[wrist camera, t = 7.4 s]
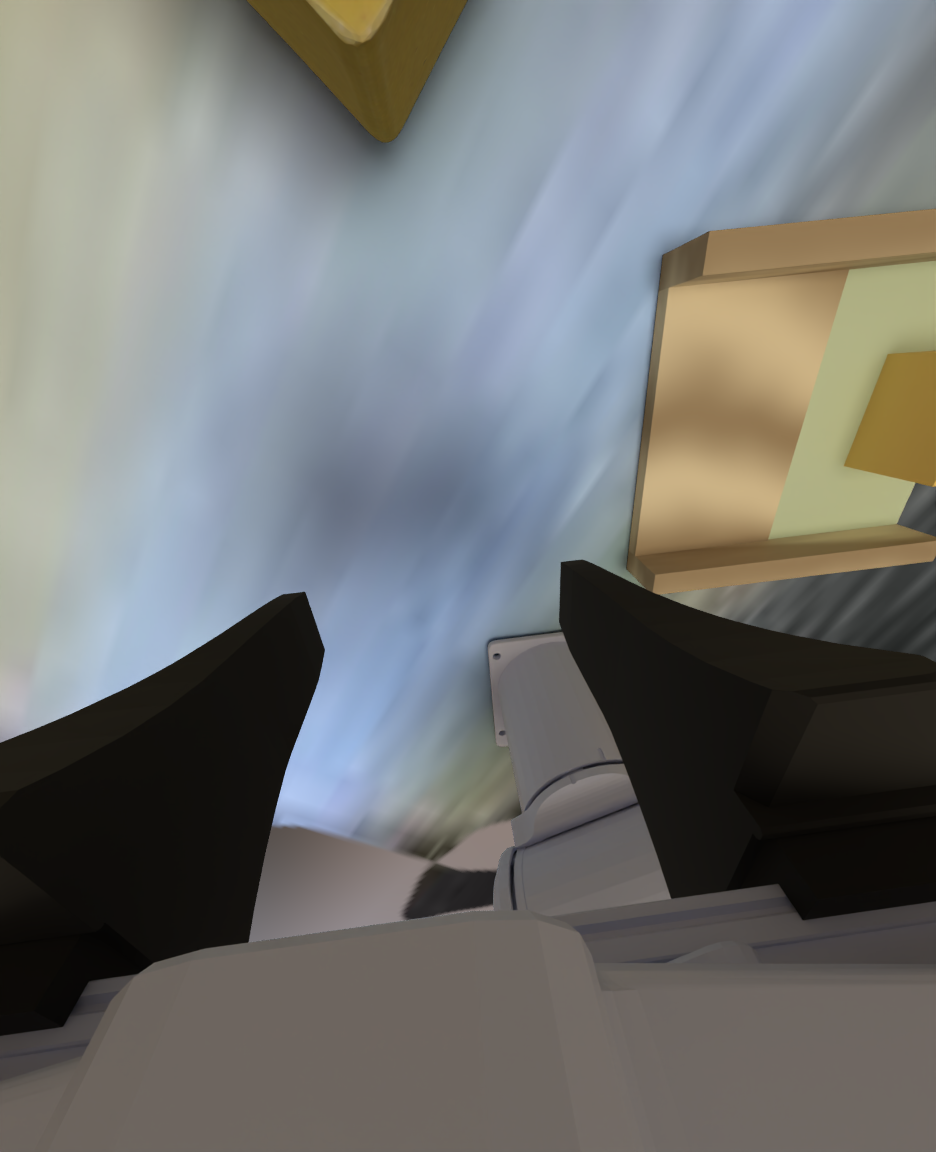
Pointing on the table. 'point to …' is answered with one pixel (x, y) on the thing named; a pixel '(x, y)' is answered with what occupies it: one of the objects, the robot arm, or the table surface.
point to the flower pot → (367, 50)
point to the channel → (751, 401)
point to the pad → (855, 402)
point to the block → (900, 421)
